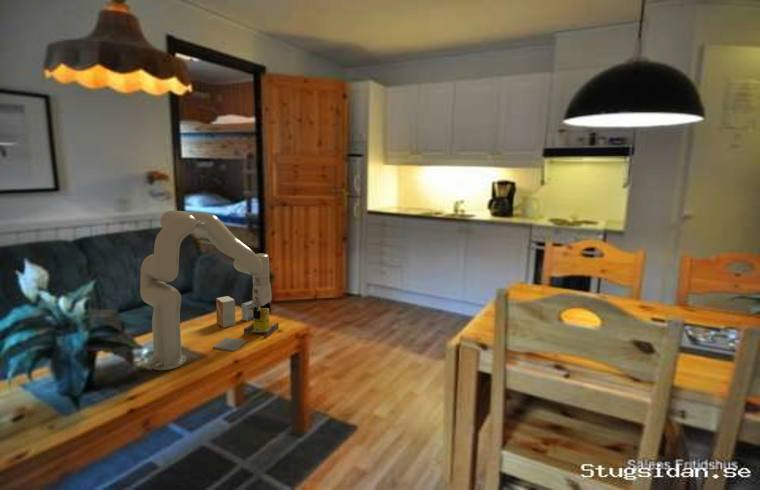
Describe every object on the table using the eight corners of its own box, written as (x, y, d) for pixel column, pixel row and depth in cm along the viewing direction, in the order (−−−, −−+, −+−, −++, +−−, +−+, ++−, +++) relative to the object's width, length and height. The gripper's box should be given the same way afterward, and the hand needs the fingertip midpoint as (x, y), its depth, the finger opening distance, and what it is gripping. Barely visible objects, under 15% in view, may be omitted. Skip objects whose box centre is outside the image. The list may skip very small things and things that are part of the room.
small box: (216, 323, 205) (215, 297, 203) (228, 320, 209) (228, 295, 207) (223, 328, 199) (222, 302, 197) (235, 325, 204) (235, 299, 201)
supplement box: (265, 334, 194) (265, 312, 192) (253, 333, 194) (252, 311, 192) (269, 329, 200) (269, 308, 198) (257, 329, 200) (256, 307, 198)
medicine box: (247, 321, 209) (247, 305, 207) (241, 319, 211) (241, 303, 209) (259, 317, 216) (259, 301, 214) (253, 315, 218) (253, 299, 216)
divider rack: (266, 337, 190) (266, 331, 189) (243, 334, 192) (243, 328, 192) (278, 328, 201) (278, 322, 201) (257, 325, 204) (257, 319, 203)
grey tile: (234, 351, 175) (234, 349, 175) (213, 348, 177) (213, 346, 177) (246, 342, 184) (246, 340, 184) (226, 339, 187) (226, 337, 186)
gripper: (259, 286, 183) (260, 322, 187) (277, 276, 200) (278, 309, 203) (243, 284, 185) (245, 320, 188) (263, 274, 201) (264, 308, 205)
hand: (262, 314), depth 196 cm, fingers open, 9 cm apart
